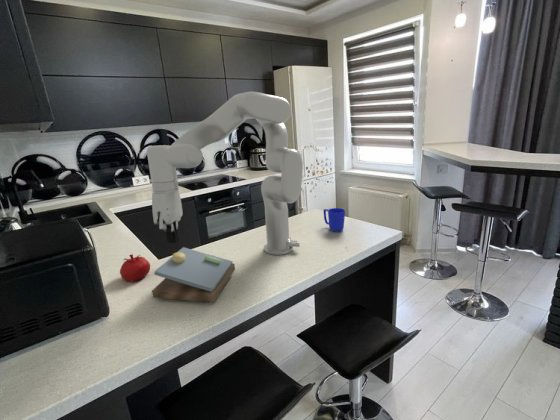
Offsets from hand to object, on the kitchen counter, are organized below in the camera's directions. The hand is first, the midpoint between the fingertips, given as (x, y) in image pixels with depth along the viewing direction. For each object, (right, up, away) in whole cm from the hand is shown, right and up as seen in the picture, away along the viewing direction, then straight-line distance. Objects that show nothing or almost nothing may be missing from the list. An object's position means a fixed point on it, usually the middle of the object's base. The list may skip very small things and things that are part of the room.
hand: (173, 241), depth 95 cm
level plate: (+7, -9, +2) cm, 12 cm away
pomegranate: (-18, -15, +13) cm, 26 cm away
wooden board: (+7, -16, +4) cm, 18 cm away
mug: (+61, +1, +50) cm, 79 cm away
